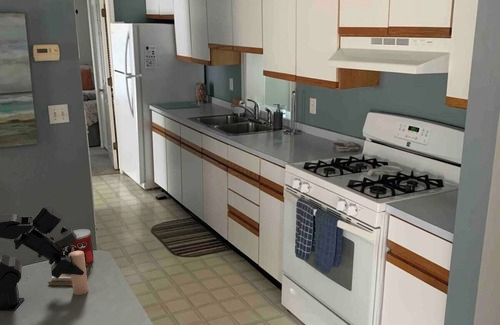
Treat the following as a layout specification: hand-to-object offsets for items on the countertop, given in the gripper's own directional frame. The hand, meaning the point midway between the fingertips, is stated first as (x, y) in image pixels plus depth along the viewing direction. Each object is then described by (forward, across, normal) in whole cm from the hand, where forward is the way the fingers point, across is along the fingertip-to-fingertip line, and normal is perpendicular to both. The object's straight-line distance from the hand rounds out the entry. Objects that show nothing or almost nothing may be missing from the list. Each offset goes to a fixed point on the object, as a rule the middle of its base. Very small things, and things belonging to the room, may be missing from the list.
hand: (83, 270), depth 162 cm
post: (+4, 0, +6) cm, 7 cm away
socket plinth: (+2, +11, +8) cm, 14 cm away
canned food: (+5, +22, +5) cm, 23 cm away
